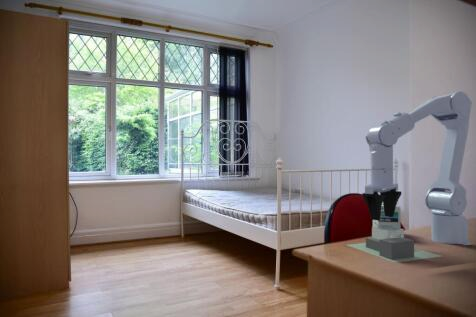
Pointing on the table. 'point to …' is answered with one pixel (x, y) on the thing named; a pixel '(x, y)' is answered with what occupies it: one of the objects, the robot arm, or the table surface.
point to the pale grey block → (387, 232)
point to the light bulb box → (388, 218)
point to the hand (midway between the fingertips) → (382, 218)
